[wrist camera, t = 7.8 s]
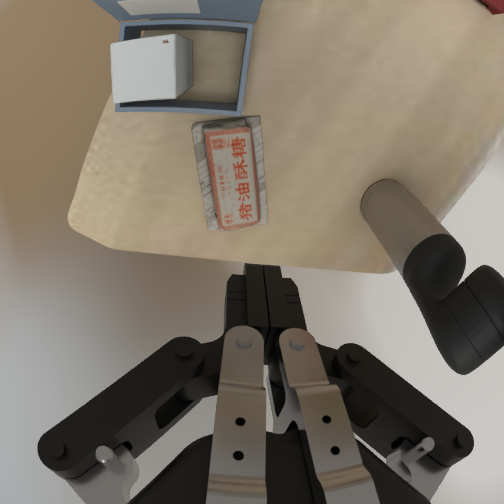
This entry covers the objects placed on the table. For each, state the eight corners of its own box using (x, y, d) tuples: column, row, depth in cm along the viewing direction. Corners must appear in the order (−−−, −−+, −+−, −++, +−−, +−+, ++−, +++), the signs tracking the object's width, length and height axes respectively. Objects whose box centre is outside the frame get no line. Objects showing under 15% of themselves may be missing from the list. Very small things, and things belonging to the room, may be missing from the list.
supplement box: (142, 44, 34) (109, 41, 24) (193, 40, 35) (177, 32, 24) (142, 92, 38) (111, 104, 28) (193, 88, 39) (177, 98, 28)
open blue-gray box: (251, 29, 34) (253, 23, 28) (240, 108, 41) (241, 116, 35) (137, 27, 32) (120, 22, 27) (131, 103, 39) (115, 112, 33)
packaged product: (186, 129, 38) (262, 120, 38) (191, 122, 42) (259, 114, 42) (206, 242, 48) (270, 236, 48) (208, 226, 52) (267, 220, 52)
